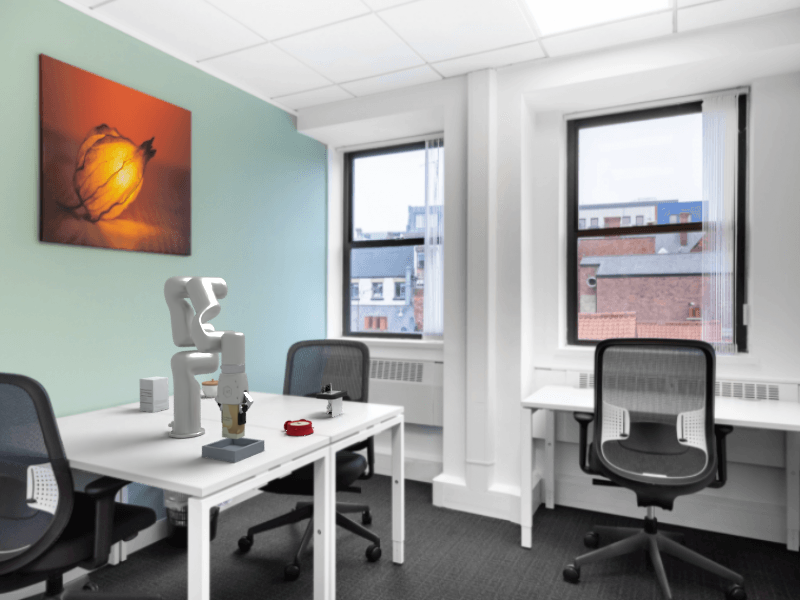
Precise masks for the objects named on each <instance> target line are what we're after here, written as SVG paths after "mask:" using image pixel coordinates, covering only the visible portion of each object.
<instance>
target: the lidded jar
mask: <svg viewBox="0 0 800 600" xmlns="http://www.w3.org/2000/svg"><path fill="white" fill-rule="evenodd" d="M217 387H218V380H215V379H214V378H211V380H206V381H205V380H204V381H202V382H201V389H202V391H201V392H202V393H203V395H204V396H205V397H206V398H207V399H213V398H214V399H215V397H216V396H217Z"/></svg>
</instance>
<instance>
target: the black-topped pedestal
mask: <svg viewBox="0 0 800 600" xmlns="http://www.w3.org/2000/svg"><path fill="white" fill-rule="evenodd" d="M346 396H348V390H344V389H343V390H342V389H333V388H332V383H329V384H326V385H324V386H322V385H321V386H320V391H319V392H317V393H316V394H315V397H316V398H315V399H320V400H326V401H327V405H326V415H328V414H329V412H332V413H331V418H332V417H333V418H335V417H337V416H336V415H338V416H340V415H342V414H343V397H346ZM339 414H340V415H339ZM334 416H335V417H334Z"/></svg>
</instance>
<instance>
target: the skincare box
mask: <svg viewBox="0 0 800 600" xmlns="http://www.w3.org/2000/svg"><path fill="white" fill-rule="evenodd" d="M242 403H243V401H242ZM241 406H242V408H243V405H241ZM238 413H240V412H239V409H238V405H229V404H223V409H222V422H221V425H222V426H221V428H222V429H221V438H222V439H225V438H232V439H238V438H241V437H244V438H245V437H246V435H245V434H246V431H245V430H246V429H245V428H246V424H243V425H238Z"/></svg>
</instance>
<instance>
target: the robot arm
mask: <svg viewBox="0 0 800 600" xmlns="http://www.w3.org/2000/svg"><path fill="white" fill-rule="evenodd" d="M164 282H165V283H164V285H163V296H164V300H165V303H166V305H167V308H168V311H169V314H170V324H171V325H170V326H171V327H170V328H171V335H172V342H173V344H174V345H175V346H176V347H178V348H196V349H192V350H181V351H178V352H176V353H174V354H172V356H171V358H170V368H171V373H172V382H173V383H172V384H173V385H172V387H173V420H171V421H170V422H169V423H168V424H167V427H168V428H172V429H171V431H169V433H168V435H169V436H170V437H171V438H176V439H184V438H185V439H187V438H193V437H194V438H195V437H199V436H202V435H204V434H205V433H206V429H205V428H204V427H201V426H202V423H201V420H202V419H201V416H202V415H201V413H202V410H201V409H202V405H201V404H202V403H201V402H202V401H201V397H202V394H201V393H202V391H201V389H202V387H201V385H200V383H199V381H198V380H197V379H196V378H195V376H198V375H208V374H213V373H216V372H217V371H218V369H219V368H220V370H221V372H220V373H219V375H218V387H217V396H216V397H215V398H214V401H215V403H216V404H217V406H218V408H219V411H220V412H221V415H220V417H221V423H222V409H223V404H229V405H238V409H239V412H240V413H238V425H243V424H245V425H246V424H247V412H248V411H249V409H250V408H251V406H252V405H253V404H254V400H253V399H252V397H251V396H250V392H249V391H250V390H249V380H248V376H247V373H246V336H245V334H244V333H243V332H242V331H235V330H229V329H228V330H216V328H215V326H214V325H213V323H210V321H211V320H213V319H214V318H216V317H217V316H218V315H219V314H220V313H221V309H222V308H221V307H222V306H221V304H220V302H219V300H223V299H225V298H226V297H227V295H228V290H229V289H228V285H227V282H226V281H225V280H224V278H222V277H221V276H198V275H195V276H192V275H176V276H172V277H170V276H169V278H167V279H166V281H164ZM186 299H189V300H190V302H191V304H192V305H191V304H190V303H189V302H188V301H187V300H186ZM195 313H196V314H195ZM219 353H220V354H221V356H220V355H219ZM220 357H221V358H220ZM220 359H221V361H220ZM220 362H221V365H220ZM242 401H243V403H242ZM241 405H243V408H242V406H241Z"/></svg>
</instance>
